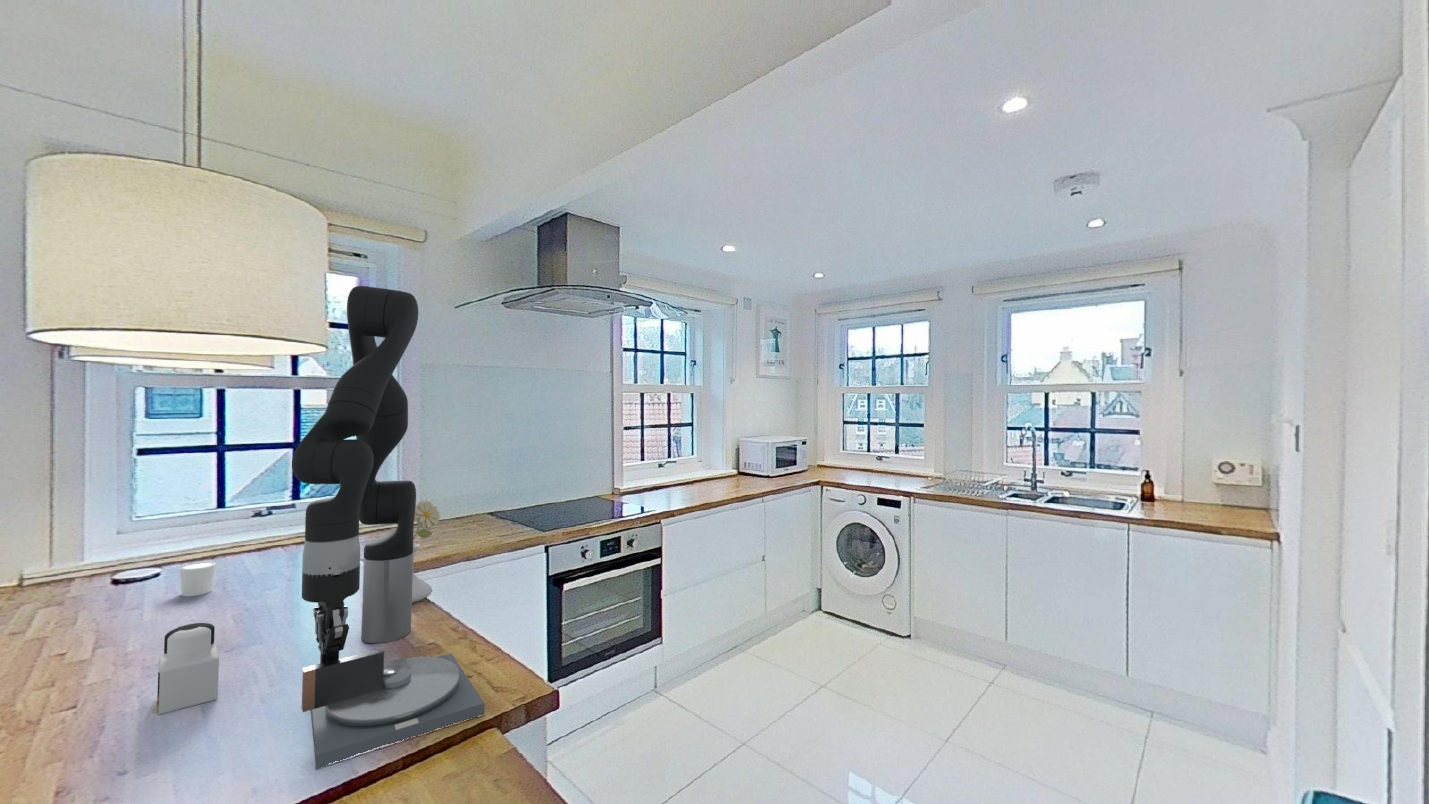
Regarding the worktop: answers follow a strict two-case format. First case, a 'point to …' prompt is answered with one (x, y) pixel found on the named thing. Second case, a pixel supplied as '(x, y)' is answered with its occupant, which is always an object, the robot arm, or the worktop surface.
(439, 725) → the plinth
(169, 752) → the worktop surface
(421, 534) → the flower in vase
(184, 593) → the white cup
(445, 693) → the rotary knob
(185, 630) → the grey handled container
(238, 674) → the worktop surface
